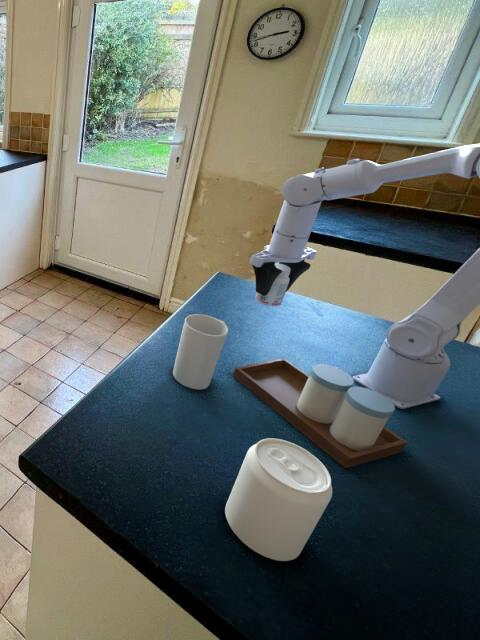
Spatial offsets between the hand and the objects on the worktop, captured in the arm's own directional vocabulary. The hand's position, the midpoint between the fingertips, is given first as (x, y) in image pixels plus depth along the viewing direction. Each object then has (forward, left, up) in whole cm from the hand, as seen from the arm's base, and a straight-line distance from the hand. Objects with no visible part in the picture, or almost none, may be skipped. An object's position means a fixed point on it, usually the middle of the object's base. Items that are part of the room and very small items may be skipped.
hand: (271, 291), depth 89 cm
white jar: (+13, +23, -8) cm, 28 cm away
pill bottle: (0, 0, -3) cm, 3 cm away
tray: (+13, +22, -9) cm, 27 cm away
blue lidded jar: (+13, +29, -8) cm, 33 cm away
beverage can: (+38, +36, -9) cm, 53 cm away
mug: (+25, +10, -9) cm, 29 cm away
